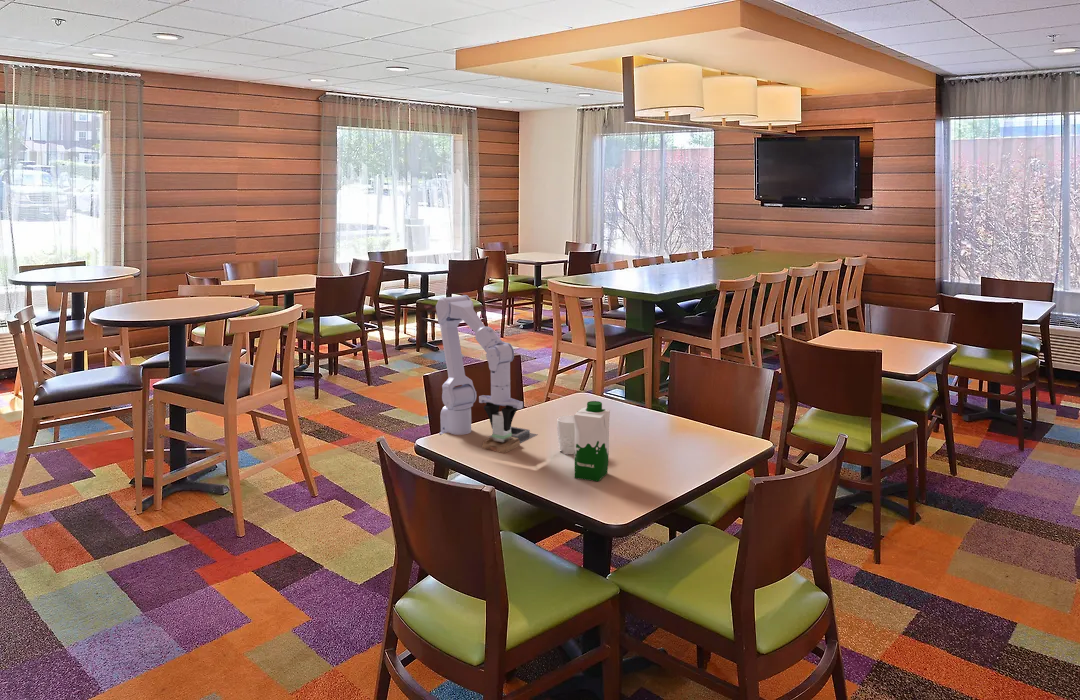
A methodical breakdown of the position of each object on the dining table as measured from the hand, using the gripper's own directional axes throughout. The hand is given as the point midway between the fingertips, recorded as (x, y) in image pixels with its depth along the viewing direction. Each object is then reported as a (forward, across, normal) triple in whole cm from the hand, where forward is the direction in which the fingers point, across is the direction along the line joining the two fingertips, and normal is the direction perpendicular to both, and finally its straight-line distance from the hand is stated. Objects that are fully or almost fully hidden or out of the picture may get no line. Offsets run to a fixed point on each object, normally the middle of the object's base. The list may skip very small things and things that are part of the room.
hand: (501, 428), depth 234 cm
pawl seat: (+7, 0, 0) cm, 7 cm away
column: (+3, 0, 0) cm, 4 cm away
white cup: (+7, -18, -10) cm, 22 cm away
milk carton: (+7, -33, +5) cm, 34 cm away
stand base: (+7, +3, -11) cm, 13 cm away
